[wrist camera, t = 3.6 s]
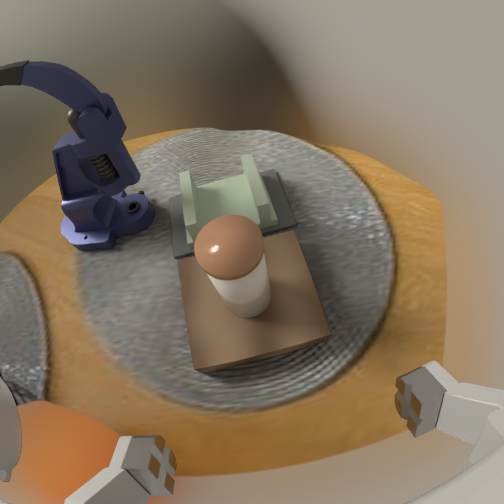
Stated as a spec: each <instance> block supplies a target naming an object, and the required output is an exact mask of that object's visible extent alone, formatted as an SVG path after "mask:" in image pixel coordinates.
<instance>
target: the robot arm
mask: <svg viewBox="0 0 504 504" xmlns="http://www.w3.org/2000/svg"><path fill="white" fill-rule="evenodd" d="M395 386H396V387H397V389H398V391H397V392H396V394H395V405H396V409H397V411H398V413H399V415H400V416H401V418H404V419H406V420H408V421H407V427H408V428H409V430H410V431H411V433H412V434H413V436H414V437H415V438H416V437H418V436H420V435H422V434H424V433H426V432H428V431H430V430H432V429H434V428H436V429H437V430H439V431H442V432H444V433H446V434H449V435H452V436H454V437H456V438H458V439H461V440H463V441H466V442H468V443H471V444H474V445H475V446H474V448H473V450H472V452H471V454H470V456H469V461H470V463H471V464H472V465H471V466H470V467H468V468H467V469H466V470H464V471H462V472H461V473H459V474H458V475H456V476H454V477H453V478H451V479H449V480H448V481H446V482H444V483H443V484H441V485H439V486H438V487H436V488H434V489H432V490H431V491H429V492H427V493H425V494H423V495H421V496H419V497H417V498H415V499H413V500H411V501H409V502H407V503H405V504H504V390H500V389H494V388H489V387H484V386H479V385H474V384H469V383H464V382H462V383H461V384H459V383H458V382H457V381H456V380H455V379H454V378H453V377H452V376H451V375H450V374H449V373H448V372H447V371H446V370H445V369H444V368H443V367H442V366H441V365H440V364H439V363H438V362H436V361H434V360H433V361H431V362H429V363H427V364H425V365H423V366H421V367H419V368H417V369H415V370H412V371H410V372H408V373H406V374H404V375H402V376H399V377H397V379H396V385H395ZM21 448H22V434H21V424H20V418H19V414H18V410H17V407H16V403H15V401H14V398H13V396H12V394H11V392H10V390H9V388H8V386H7V385H6V384H5V382H4V381H3V380H2V379H1V377H0V480H1V481H3V482H9V481H10V477H11V471H12V469H13V467H15V465H16V464H17V463H18V461H19V458H20V454H21ZM176 467H177V464H176V458H175V455H174V453H173V451H172V450H171V449H170V448H168V447H166V446H165V440H164V439H163V438H162V436H159V435H152V436H122V437H120V438H119V441H118V443H117V446H116V449H115V452H114V454H113V457H112V460H111V463H110V466H109V468H104V469H103V470H102V471H101V472H99V473H98V474H97V475H96V476H95V477H93V478H92V479H91V480H89V481H88V482H87V483H86V484H84V485H83V486H82V487H80V488H79V489H78V490H77V491H75V492H74V493H73V494H71V495H70V496H69V497H67V498H66V499H65V502H64V504H146V502H147V501H148V500H149V499H150V497H151V495H173V489H174V482H175V481H174V480H173V478H172V477H171V476H172V475H173V474H174V473H175V472H176ZM0 504H9V503H7V502H5V501H3V500H2V499H0Z"/></svg>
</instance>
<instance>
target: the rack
mask: <svg viewBox="0 0 504 504" xmlns="http://www.w3.org/2000/svg"><path fill="white" fill-rule="evenodd" d="M241 160H242V165H243V170H244V174H241V175H237V176H234V177H230V178H226V179H223V180H219V181H215V182H212V183H208V184H205V185H201V186H198V187H196V186H195V184H194V181H193V179H192V176H191V174H190V171H189V170H188V171H185V172H181V173H179V175H180V185H181V195H182V204H183V213H184V221H185V228H186V236H187V244H188V245H189V247H190V248H194V244H195V240H196V237H197V235H198V233H199V232H200V230H201V229H202V228H203V227H204V226H205V225H206V224H207V223H209V222H210V221H212V220H213V219H215V218H218V217H221V216H225V215H240V216H244V217H247V218H249V219H251V220H252V221H253V222H255V223H256V224H257V226H258V227H259V228H260V229H263V228H267V227H271V226H275V225H278V219H277V216H276V213H275V211H274V208H273V205H272V202H271V200H270V197H269V194H268V192H267V189H266V186H265V184H264V181H263V178H262V176H261V173H260V171H259V170H257V169H256V166H255V163H254V161H253V158H252V156H251V153H250V154H246V155H242V156H241Z"/></svg>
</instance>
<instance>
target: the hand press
mask: <svg viewBox="0 0 504 504" xmlns="http://www.w3.org/2000/svg"><path fill="white" fill-rule="evenodd" d="M3 85H27V86H31V87H34V88H36V89H39V90H41V91H43V92H46V93H47V94H50V95H51V96H53V97H55V98H56V99H58V100H60V101H61V102H63V103H64V104H66V105H68V106H69V107H70V108H72V109H71V110H70V111H69V113H68V115H67V120H68V122H69V124H70V126H71V127H72V129H73V131H72V132H70V133H67V134H64V135H63V136H62V137H61V139H60V141H59V142H58V143H57V145H56V147H55V148H54V150H53V157H54V162H55V167H56V173H57V177H58V182H59V186H60V191H61V195H62V199H63V200H62V204H61V206H62V210H63V212H64V213H65V215H66V216H65V217H64V219H63V221H62V224H61V232H62V234H63V235H64V236H65V237H66V238H67V239H68V240H69V241H70V242H71V243H72V244H73V245H74V246H75V247H76V248H77V249H79V250H81V251H89V250H100V249H111V248H113V247H114V245H115V241H116V238H117V236H120V235H129V234H136V233H139V232H141V231H143V230H145V229H146V228H147V227H148V226H149V225H150V224H151V222H152V221H153V218H154V214H155V211H154V208H153V207H152V205H151V203H150V202H149V200H148V198H147V197H146V196H145V195H144V192H143V191H139V194H130V195H127V194H126V192H125V191H124V189H125V188H126V187H127V186H129V185H133V184H136V183H137V182H138V181H139V179H140V173H139V171H138V169H137V167H136V165H135V164H134V162H133V160H132V158H131V156H130V154H129V153H128V151H127V149H126V147H125V145H124V143H123V142H122V140H121V138H122V136H123V134H124V132H125V130H126V128H127V127H126V125H125V123H124V121H123V119H122V117H121V115H120V113H119V111H118V109H117V106H116V104H115V102H114V100H113V98H112V97H111V96H110V95H109V94H106V93H100V91H98V90H97V88H96V87H95V86H94V85H93V84H92V83H90V82H89V81H88V80H87V79H85V78H84V77H82V76H81V75H80V74H78V73H77V72H75V71H73V70H71V69H70V68H68V67H66V66H63V65H60V64H56V63H49V62H29V61H23V62H17V63H12V64H8V65H5V66H1V67H0V86H3Z"/></svg>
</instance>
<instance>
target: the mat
mask: <svg viewBox="0 0 504 504" xmlns="http://www.w3.org/2000/svg"><path fill="white" fill-rule="evenodd" d="M261 176H262V178H263V181H264V184H265V186H266V189H267V192H268V194H269V197H270V200H271V202H272V205H273V208H274V211H275V213H276V216H277V219H278V225H275V226H271V227H267V228H263V229H260V230H261V233H262V235H264V234H267V233H271V232H275V231H279V230H282V229H286V228H290V227H294V226H297V223H296V220H295V218H294V215H293V213H292V210H291V208H290V205H289V203H288V201H287V198H286V196H285V193H284V191H283V189H282V186H281V184H280V182H279V179H278V177H277V175H276V172H275V170H274V169H273V170H269V171H265V172H261ZM169 207H170V220H171V232H172V243H173V253H174V258H175V259H176V258H179V257H183V256H187V255H190V254H194V253H195V252H194V248H190V247H189V245H188V244H187V236H186V228H185V221H184V213H183V204H182V195H178V196H175V197H171V198H169Z"/></svg>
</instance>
